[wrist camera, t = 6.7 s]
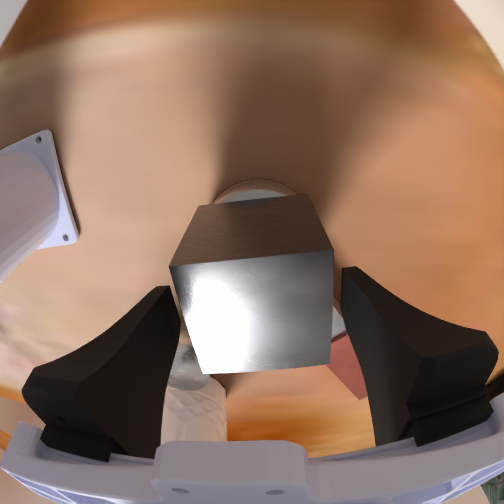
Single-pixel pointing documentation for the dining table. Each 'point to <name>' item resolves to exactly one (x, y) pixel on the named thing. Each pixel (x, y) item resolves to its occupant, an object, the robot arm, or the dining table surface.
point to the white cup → (195, 414)
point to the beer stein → (500, 487)
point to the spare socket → (186, 365)
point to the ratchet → (341, 347)
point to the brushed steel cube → (256, 285)
